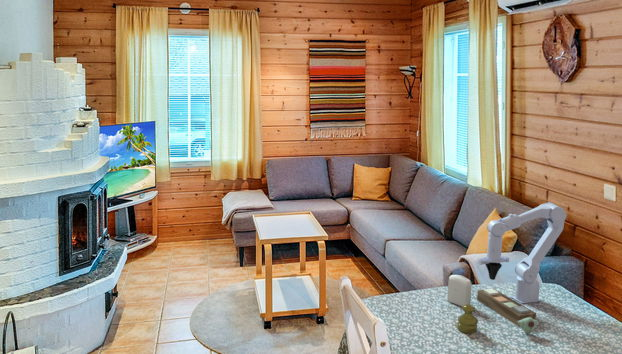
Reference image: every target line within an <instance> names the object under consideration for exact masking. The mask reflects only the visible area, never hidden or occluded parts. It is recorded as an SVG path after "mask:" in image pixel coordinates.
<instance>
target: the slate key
mask: <svg viewBox="0 0 622 354" xmlns="http://www.w3.org/2000/svg"><path fill="white" fill-rule="evenodd" d="M523 306H524V305H523ZM523 306H518V307H513V310H515V311H516V312H518V313H520V314H522V313H529V312H530V310H531V309H530V310H528V309H529V308H528V307H526V306H525V307H526V308H525V307H523ZM527 308H528V309H527Z"/></svg>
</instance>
